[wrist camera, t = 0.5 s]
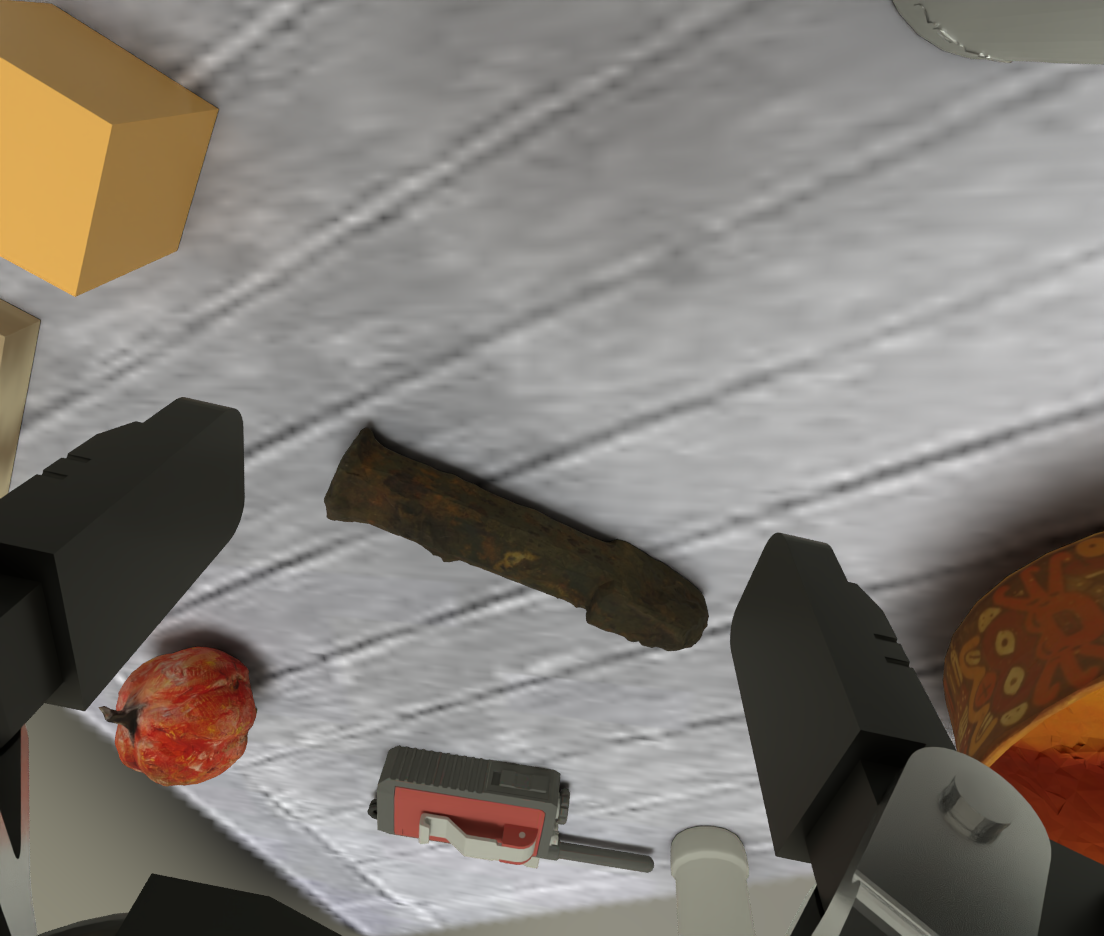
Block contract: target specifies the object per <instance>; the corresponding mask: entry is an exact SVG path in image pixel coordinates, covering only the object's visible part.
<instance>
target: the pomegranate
mask: <svg viewBox="0 0 1104 936" xmlns="http://www.w3.org/2000/svg"><path fill="white" fill-rule="evenodd" d="M248 674H249V670H248V669H247V667H246V666H245V665H244V664H242V663H241V661H239V660H238V659H236V658H234V657H232V656H230V655H229V654H227V653H225V652H223V651H220V650H217V649H215V648H209V647H193V648H188V649H184V650H181V651H178V652H175V653H173V654H165V655H161V656H157V657H155V658H153V659H151V660H149V661H147V662H145V663H143V664H142V665H141V666H140V667H139V668H137V669H136V670H135V671H133V672H132V673H131V675H130V676H129V677H128V678H127V680H126V681H125V682H124V684H123V686H122V688H121V689H120V691H119V693H118V694H119V697H118V701H117V705H116V710H112V709H109V708H107V707H106V706H103V707H99V709H100V710H101V711H102V713H103V714H104V717H105V720H106V721H108V722H112V723H116V724H118V726H117V731H116V736H115V745H116V748H117V750H118V753H119V757H120V759H121V761H122V763H123V764H124V765H126V766H127V767H129V768H132V769H134V770H136V771H138V772H142V773H145V774H146V775H147V776H148V777H149V778H150V779H151V780H152V781H154V782H156V783H158V784H161V785H163V786H173V785H184V786H185V785H191V784H198V783H201V782H204V781H206V780H209V779H211V778H214V777H216V776H218V775H220V774H221V773H223V772H224V771H225V770H227V769H228V768H229V767H231V766H232V764H234V763H235V762H236V761H237V760H238V759H239V758H240V757H241V756H242V755H243V753H244V751H245V749H246V745H247V738H248V737H247V735H248V731H249V729H250V728H251V727H252V726H253V723H254V721H255V718H256V713H257V709H256V708H255V703H254V699H253V695H252V691H251V685H250V681H249V676H248Z"/></svg>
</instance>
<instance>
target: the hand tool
mask: <svg viewBox="0 0 1104 936" xmlns="http://www.w3.org/2000/svg"><path fill="white" fill-rule="evenodd" d="M324 502H325V505H326V510H327V518H328V519H330V520H334V521H335V520H338V521H343V522H354V521H355V522H360V523H367V524H371V525H373V526H376V527H378V528H381V529H383V530H385V531H388V532H390V533H392V534H395V535H398V536H402V537H404V538H406V539H409V540H411V541H414V542H416V543H418V544H419V545H421V546H423V547H424V548H425V549H427V550H428V551H430V552H431V553H432V554H433V555H436V556H439V557H441V558H442V560H443V562H452V561H458V560H461V561H463V562H466V563H468V564H470V565H473V566H476V567H479V568H482V569H484V570H487V571H489V572H492V573H495V574H497V575H500V576H502V577H505V578H507V579H509V580H512V581H515V582H517V583H520V584H523V585H525V586H528V587H530V588H533V589H536V590H538V591H541V592H544V593H546V594H549V595H552V596H554V597H556V598H557V599H558V598H560V599H563V600H565V601H567V602H569V603H571V604H573V605H574V606H575V607H576V608H578V607H581V608H584V609H586V611H587V612H586V621H587V623H588V624H591V625H593V626H596V627H598V628H600V629H602V630H605V631H608V632H612V633H616V634H618V635H621V636H624V637H625V638H626V639H627V640H628V641H631V642H637V641H639V642H640V643H641V644H642V645H643V646H647V647H651V648H653V647H659V648H662V649H664V650H666V651H677V650H681V649H684V648H689V647H692V646H693V645H694V644H696V643H697V642H698V641H699V640H700V638H701V636H702V633H703V631H704V629H705V628H706V627H707V625H708V624H707V621H708V617H709V615H708V610H707V606H706V602H705V598H704V596H703V595H702V594H701V592H700V591H699V590H698V589H697V588H696V587H695V586H694V585H693V584H691V583H690V582H689V581H687V580H686V579H685V578H683V577H682V576H681V575H679V574H678V573H677V572H675V571H674V570H673V569H671V568H669V567H668V566H666V565H665V564H663V563H662V562H660V561H656V560H654V559H653V558H651V557H650V556H648V555H647V554H645V553H644V552H642V551H641V550H639V549H637V548H636V547H634V546H633V545H631V544H629V543H627V542H625V541H622V540H617V539H616V540H613V541H611V542H609V543H608V542H604V541H601V540H598V539H596V538H593V537H591V536H588V535H586V534H583V533H581V532H579V531H577V530H575V529H573V528H571V527H569V526H567V525H564V524H562V523H560V522H558V521H556V520H554V519H551V518H549V517H548V516H546V515H544V514H542V513H540V512H539V511H537V510H534V509H532V508H528V507H525V506H521V505H518V504H515V503H513V502H511V501H508V500H506V499H504V498H502V497H499V496H497V495H495V494H493V493H490V492H488V491H486V490H484V489H482V488H480V487H479V486H477V485H475V484H473V483H470V482H467V481H464V480H463V479H461V478H459V477H457V476H456V475H454V474H449V473H445V472H441V471H439V470H436V469H434V468H432V467H430V466H429V465H426V464H423V463H420V462H417V461H414V460H412V459H410V458H407V457H405V456H402V455H400V454H398V453H395V452H393V451H391V450H389V449H387V448H385V447H384V446H382V445H381V444H380V443H379V442H378V441H377V440H376V439H375V437H374V434H373V431H372V430H371V429H369V428H367V427H366V428H364V429H362V430H361V431H360V433H359V435H358V436H357V438H356V439H355V440H354V441H353V443H352V444H351V446H350V447H349V448H348V450H347V451H346V453H345V454H344V456H343V458H342V459H341V461H340V464H339V466H338V468H337V471H336V473H335V475H334V477H333V479H332V481H331V484H330V487H329V489H328V491H327V493H326V496H325V498H324Z"/></svg>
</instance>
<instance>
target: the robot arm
mask: <svg viewBox="0 0 1104 936" xmlns="http://www.w3.org/2000/svg"><path fill="white" fill-rule="evenodd" d="M893 2H894V4H895V6H896V8H897V10H898V12H899V13H900V15H901V16H902V17H903V18H904V19H905V20H906V21H907V23H908V24H909V25H910V26H911V27H912V28H913V29H914V31H915V32H916V33H917V34H918V35H919V36H921V37H922V38H924V39H926V40H927V41H929V42H930V43H932V44H933V45H935V46H937V47H938V48H940V49H941V50H943V51H946V52H949V53H953V54H956V55H960V56H963V57H966V58H970V59H985V60H992V61H997V62H1003V63H1011V62H1012V61H1030V62H1047V63H1068V64H1101V65H1104V0H893ZM244 498H245V492H244V435H243V420H242V416H241V414H240V412H239V411H238V410H237V409H235V408H230V407H226V406H221V405H217V404H213V403H208V402H204V401H199V400H195V399H190V398H186V397H181V398H178V399H176V400H175V401H173V402H172V403H170V404H169V405H167V406H166V407H165V408H163V409H162V410H160V411H159V412H158V413H156V414H155V415H153V416H152V417H151V418H149V419H148V420H146V421H145V422H143V423H141V422H137V421H135V422H132V423H129V424H126V425H123V426H120V427H117V428H114V429H111V430H108V431H105V432H102V433H99V434H96V435H95V436H93V437H92V438H90V439H89V440H87V441H86V442H84V443H83V444H81V445H80V446H78V447H77V448H75V449H74V450H72V451H71V452H69V453H68V456H67V458H60V459H59V460H57V461H56V462H54V463H53V464H51V465H50V466H48V467H47V468H45V469H44V470H43V474H42V475H38V474H36V475H35V476H33V477H32V478H30V479H29V480H27V481H26V482H24V483H23V484H21V485H20V486H18V487H17V488H15V489H14V490H12V491H11V492H9V493H8V494H6V495H5V496H3V497H2V498H0V936H341V935H340V934H338V933H336V932H334V931H332V930H330V929H328V928H327V927H325V926H323V925H321V924H319V923H317V922H316V921H314V920H312V919H310V918H308V917H306V916H305V915H303V914H301V913H299V912H297V911H295V910H293V909H292V908H290V907H288V906H286V905H284V904H282V903H281V902H279V901H277V900H275V899H273V898H271V897H269V896H264V895H259V894H254V893H249V892H244V891H238V890H233V889H228V888H223V887H218V886H213V885H208V884H202V883H197V882H193V881H188V880H182V879H177V878H172V877H167V876H162V875H157V874H151V876H150V877H149V879H148V881H147V882H146V884H145V886H144V887H143V889H142V891H141V893H140V894H139V896H138V898H137V900H136V901H135V903H134V904H133V906H132V908H131V910H130V911H129V913H119V914H112V915H108V916H103V917H98V918H93V919H88V920H84V921H80V922H76V923H73V924H70V925H67V926H64V927H60V928H57V929H54V930H51V931H48V932H45V933H42V934H40V935H37V928H36V922H35V915H34V909H33V903H32V894H31V883H30V840H29V839H30V831H29V740H28V733H27V729H26V725H25V723H26V722H27V721H28V720H29V719H30V718H31V717H32V715H33V714H34V713H35V712H36V711H37V710H38V709H39V708H40V707H41V706H42V705H43V704H44V703H47V704H52V705H57V706H62V707H67V708H72V709H76V710H81V711H86V709H87V708H88V707H89V706H90V705H91V703H92V702H93V701H94V700H95V699H96V698H97V696H98V695H99V694H100V693H101V692H102V690H103V689H104V688H105V687H106V686H107V685H108V683H109V682H110V681H111V680H112V679H113V677H114V676H115V675H116V674H117V673H118V672H119V670H120V669H121V668H122V667H123V666H124V665H125V663H126V662H127V661H128V660H129V659H130V657H131V656H132V655H133V654H134V653H135V652H136V650H137V649H138V648H139V647H140V646H141V644H142V643H143V642H144V641H145V640H146V639H147V637H148V636H149V635H150V634H151V633H152V631H153V630H154V629H155V628H156V627H157V626H158V624H159V623H160V622H161V621H162V620H163V619H164V617H165V616H166V615H167V614H168V613H169V611H170V610H171V609H172V608H173V607H174V606H175V604H176V603H177V602H178V601H179V600H180V598H181V597H182V596H183V595H184V594H185V593H186V591H187V590H188V589H189V588H190V587H191V585H192V584H193V583H194V582H195V581H196V580H197V578H198V577H199V576H200V575H201V574H202V572H203V571H204V570H205V569H206V568H207V567H208V565H209V564H210V563H211V562H212V561H213V560H214V558H215V557H216V556H217V555H218V554H219V552H220V551H221V550H222V549H223V548H224V547H225V545H226V544H227V543H228V542H229V541H230V539H231V538H232V537H233V535H234V533H235V531H236V529H237V527H238V525H239V523H240V520H241V516H242V513H243V508H244ZM730 646H731V653H732V657H733V662H734V666H735V671H736V676H737V680H738V685H739V689H740V694H741V699H742V703H743V708H744V712H745V717H746V722H747V726H748V731H749V735H750V740H751V745H752V749H753V754H754V759H755V763H756V768H757V772H758V777H759V782H760V786H761V791H762V795H763V800H764V805H765V809H766V814H767V818H768V823H769V828H770V832H771V837H772V841H773V846H774V851H775V855H776V856H777V857H782V858H787V859H791V860H796V861H801V862H806V863H811V864H812V868H813V872H814V876H815V880H816V883H815V885H814V886H813V887H812V889H811V890H810V891H809V893H808V894H807V896H806V897H805V899H804V901H803V902H802V904H801V906H800V908H799V910H798V912H797V914H796V916H795V918H794V919H793V921H792V923H791V925H790V927H789V929H788V931H787V933H786V935H785V936H1104V865H1103V864H1101V863H1099V862H1096V861H1094V860H1092V859H1090V858H1088V857H1086V856H1084V855H1082V854H1080V853H1078V852H1076V851H1073V850H1071V849H1069V848H1067V847H1065V846H1063V845H1061V844H1059V843H1057V842H1055V841H1053V840H1050V839H1049V837H1048V835H1047V832H1046V830H1045V827H1044V826H1043V824H1042V822H1041V820H1040V818H1039V817H1038V815H1037V814H1036V812H1035V811H1034V810H1033V808H1032V807H1031V805H1030V804H1029V803H1028V802H1027V801H1026V800H1025V798H1024V797H1023V796H1022V795H1021V794H1020V793H1019V792H1018V791H1017V790H1016V789H1015V788H1014V787H1013V786H1012V785H1011V784H1010V783H1009V782H1007V781H1006V780H1005V779H1004V778H1003V777H1001V776H1000V775H999V774H997V773H996V772H995V771H993V770H992V769H990V768H989V767H987V766H986V765H984V764H982V763H981V762H979V761H977V760H976V759H974V758H971V757H969V756H967V755H965V754H963V753H960V752H957V751H956V749H955V747H954V745H953V743H952V741H951V739H950V738H949V736H948V734H947V732H946V730H945V728H944V726H943V724H942V722H941V720H940V719H939V717H938V715H937V713H936V711H935V709H934V707H933V705H932V703H931V701H930V700H929V698H928V696H927V694H926V692H925V690H924V688H923V686H922V684H921V682H920V681H919V679H918V677H917V675H916V673H915V671H914V669H913V668H910V667H909V663H910V662H909V660H908V658H907V656H906V654H905V652H904V650H903V648H902V646H901V644H897V637H896V635H895V633H894V631H893V629H892V627H891V625H890V624H889V622H888V620H887V618H886V616H885V614H884V612H883V610H882V609H881V608H880V607H879V606H878V605H877V604H876V603H875V602H874V601H873V600H872V599H871V598H870V597H869V596H868V595H867V594H866V593H865V592H864V591H863V590H862V589H861V588H860V587H859V586H858V585H857V584H855V583H851V582H848V581H847V579H846V577H845V574H844V572H843V570H842V568H841V566H840V564H839V562H838V560H837V558H836V556H835V554H834V552H833V550H832V548H831V547H830V546H829V545H828V544H827V543H823V542H819V541H814V540H810V539H805V538H801V537H797V536H792V535H788V534H783V533H775V534H774V535H772V536H771V538H770V539H769V540H768V542H767V544H766V545H765V547H764V550H763V552H762V554H761V556H760V558H759V560H758V562H757V565H756V567H755V569H754V571H753V573H752V575H751V577H750V580H749V582H748V584H747V586H746V588H745V590H744V592H743V595H742V597H741V599H740V601H739V603H738V605H737V608H736V610H735V613H734V616H733V620H732V625H731V633H730Z"/></svg>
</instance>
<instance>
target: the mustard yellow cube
mask: <svg viewBox="0 0 1104 936" xmlns="http://www.w3.org/2000/svg"><path fill="white" fill-rule="evenodd" d="M218 110H219V109H218V108H216V107H214V106H213V105H211V104H210V103H208V102H207V101H205V100H203V99H202V98H200V97H199V96H197V95H195V94H194V93H192V92H191V91H189V90H188V89H186V88H184V87H183V86H181V85H180V84H178V83H176V82H175V81H173V80H172V79H170V78H169V77H167V76H165V75H164V74H162V73H161V72H159V71H157V70H156V69H154V68H153V67H151V66H150V65H148V64H146V63H145V62H143V61H142V60H140V59H138V58H137V57H135V56H134V55H132V54H131V53H129V52H127V51H126V50H124V49H123V48H121V47H119V46H118V45H116V44H115V43H113V42H112V41H110V40H108V39H107V38H105V37H104V36H102V35H100V34H99V33H97V32H96V31H94V30H93V29H91V28H89V27H88V26H86V25H85V24H83V23H81V22H80V21H78V20H77V19H75V18H74V17H72V16H70V15H69V14H67V13H66V12H64V11H62V10H61V9H59V8H58V7H56V6H55V5H53V4H48V3H36V2H23V1H11V0H0V256H1V257H3V258H4V259H6V260H8V261H10V262H12V263H14V264H15V265H17V266H19V267H21V268H23V269H25V270H27V271H28V272H30V273H32V274H34V275H36V276H38V277H39V278H41V279H43V280H45V281H47V282H49V283H51V284H52V285H54V286H56V287H58V288H60V289H62V290H63V291H65V292H67V293H69V294H71V295H73V296H75V297H76V296H78V295H80V294H83V293H85V292H87V291H89V290H91V289H94V288H96V287H98V286H100V285H102V284H105V283H107V282H109V281H111V280H114V279H116V278H118V277H120V276H122V275H125V274H127V273H129V272H131V271H133V270H136V269H138V268H140V267H142V266H145V265H147V264H149V263H151V262H153V261H156V260H158V259H160V258H162V257H164V256H167V255H169V254H171V253H173V252H176V251H177V249H178V246H179V242H180V239H181V236H182V232H183V229H184V225H185V222H186V219H187V215H188V212H189V208H190V205H191V202H192V198H193V195H194V191H195V188H196V185H197V181H198V178H199V174H200V171H201V168H202V164H203V161H204V157H205V154H206V151H207V147H208V144H209V140H210V137H211V134H212V130H213V127H214V123H215V120H216V117H217V113H218Z"/></svg>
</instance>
